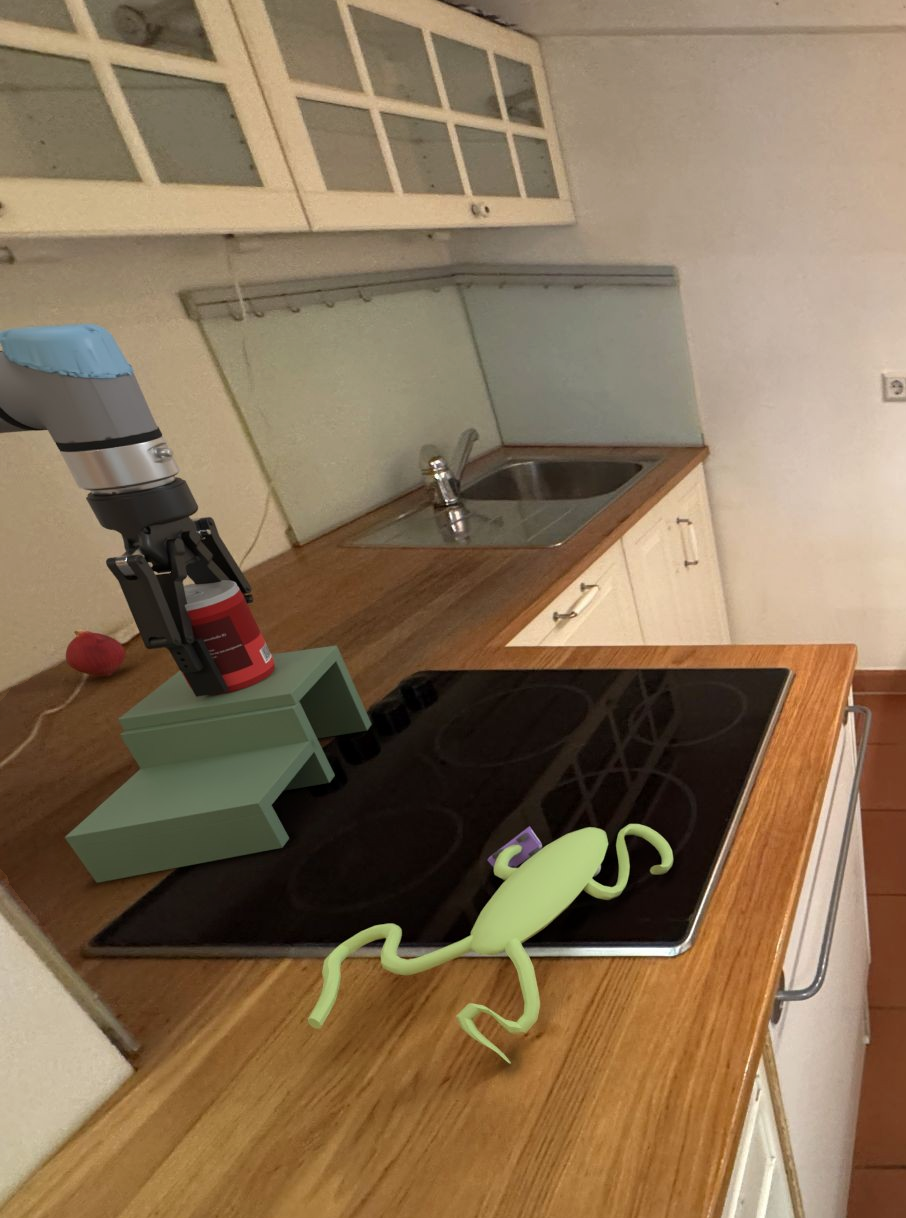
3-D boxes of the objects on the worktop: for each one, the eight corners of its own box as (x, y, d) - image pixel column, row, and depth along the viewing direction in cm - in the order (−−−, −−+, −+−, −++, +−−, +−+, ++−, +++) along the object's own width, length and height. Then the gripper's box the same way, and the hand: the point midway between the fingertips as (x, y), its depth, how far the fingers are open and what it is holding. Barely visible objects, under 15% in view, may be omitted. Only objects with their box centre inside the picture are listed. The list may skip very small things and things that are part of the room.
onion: (125, 663, 120) (98, 617, 116) (142, 670, 117) (115, 624, 114) (74, 681, 115) (44, 634, 111) (90, 689, 113) (61, 641, 109)
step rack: (96, 883, 77) (29, 787, 72) (229, 747, 98) (184, 666, 92) (282, 847, 81) (231, 754, 75) (372, 724, 101) (337, 645, 96)
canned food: (250, 658, 94) (209, 576, 89) (294, 668, 91) (254, 583, 86) (175, 690, 87) (126, 603, 82) (220, 701, 85) (172, 612, 80)
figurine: (294, 1043, 60) (263, 995, 58) (548, 819, 83) (533, 777, 81) (478, 1107, 55) (453, 1058, 53) (694, 850, 78) (683, 807, 76)
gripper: (109, 509, 71) (221, 715, 81) (232, 456, 89) (312, 630, 99) (8, 519, 69) (135, 728, 79) (154, 463, 87) (243, 639, 97)
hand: (233, 674), depth 89 cm, fingers closed on canned food, 8 cm apart
